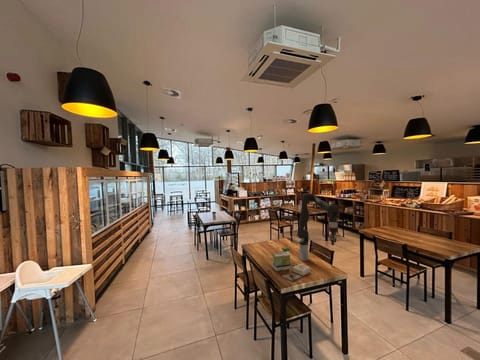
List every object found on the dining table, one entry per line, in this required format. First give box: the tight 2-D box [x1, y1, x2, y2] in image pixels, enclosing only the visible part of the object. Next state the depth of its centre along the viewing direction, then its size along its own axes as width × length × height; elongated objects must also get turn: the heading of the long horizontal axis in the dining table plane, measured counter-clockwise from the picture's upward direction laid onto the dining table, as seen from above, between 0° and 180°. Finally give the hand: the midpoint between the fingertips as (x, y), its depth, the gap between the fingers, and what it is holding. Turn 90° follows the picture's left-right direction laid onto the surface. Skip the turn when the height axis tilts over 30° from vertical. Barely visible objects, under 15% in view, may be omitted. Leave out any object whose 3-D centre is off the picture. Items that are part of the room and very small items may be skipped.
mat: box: [280, 275, 304, 284], centre depth 185 cm, size 15×15×1 cm
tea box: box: [272, 251, 291, 272], centre depth 205 cm, size 15×10×15 cm, turn 101°
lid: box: [281, 268, 302, 283], centre depth 185 cm, size 12×12×7 cm
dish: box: [292, 263, 311, 277], centre depth 194 cm, size 11×11×5 cm
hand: (333, 243), depth 188 cm, fingers open, 8 cm apart
